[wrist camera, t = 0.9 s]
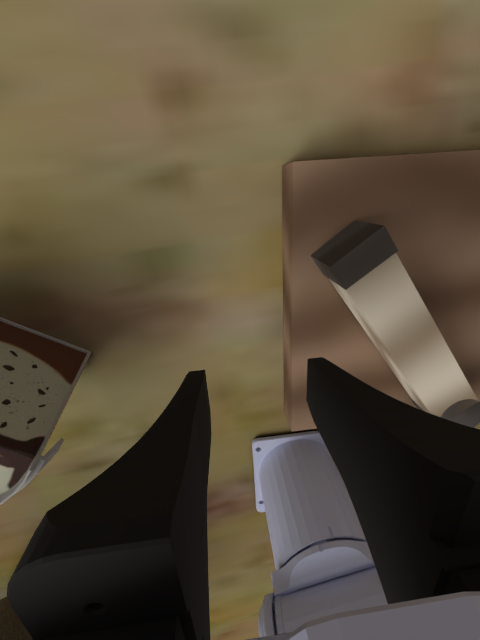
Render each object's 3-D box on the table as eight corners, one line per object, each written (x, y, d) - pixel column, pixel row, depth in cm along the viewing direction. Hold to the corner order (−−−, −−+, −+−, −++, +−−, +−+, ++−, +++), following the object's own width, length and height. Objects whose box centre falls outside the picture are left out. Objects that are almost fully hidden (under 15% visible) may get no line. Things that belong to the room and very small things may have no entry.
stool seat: (518, 382, 27) (580, 419, 23) (284, 410, 26) (300, 456, 21) (606, 144, 20) (724, 129, 15) (282, 166, 18) (306, 156, 14)
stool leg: (455, 391, 23) (491, 419, 20) (420, 413, 24) (449, 444, 21) (354, 220, 17) (384, 225, 14) (310, 255, 18) (330, 267, 15)
